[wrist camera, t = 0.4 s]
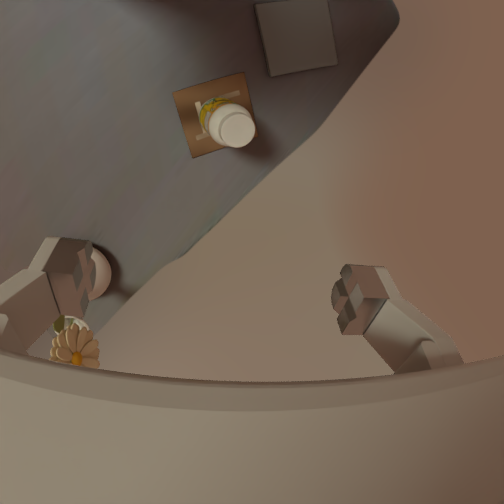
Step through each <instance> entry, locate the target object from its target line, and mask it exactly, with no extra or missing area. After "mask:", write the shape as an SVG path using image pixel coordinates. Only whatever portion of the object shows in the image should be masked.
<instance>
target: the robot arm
mask: <svg viewBox="0 0 504 504" xmlns="http://www.w3.org/2000/svg"><path fill="white" fill-rule="evenodd" d="M92 253H93V247H92V242H91V241H89V240H81V239H73V238H65V237H62V238H61V237H54V236H48V237H46V238H45V240H44V242H43V243H42V245H41V247H40V248H39V250H38V252H37V253H36V255H35V257H34V259H33V260H32V262H31V264H30V266H29V268H28V269H27V270H26V269H23V270H22V271H20V272H19V273H17V274H16V275H14V276H13V277H11V278H10V279H8V280H7V281H5V282H4V283H2V284H1V285H0V504H504V355H502V356H498V357H494V358H490V359H485V360H480V361H475V362H470V363H465V364H464V362H463V360H462V358H461V356H460V353H459V351H458V349H457V347H456V345H455V343H454V341H453V339H452V338H451V337H450V336H449V335H448V334H447V333H446V332H444V331H443V330H442V329H441V328H440V327H438V326H437V325H436V324H435V323H434V322H433V321H431V320H430V319H429V318H428V317H427V316H425V315H424V314H423V313H422V312H421V311H419V310H418V309H417V308H416V307H414V306H413V305H412V304H411V303H409V302H408V301H407V300H403V299H402V297H401V295H400V293H399V291H398V289H397V287H396V285H395V283H394V282H393V280H392V278H391V276H390V274H389V272H388V270H387V269H386V268H385V267H382V266H363V265H350V264H346V265H345V266H344V267H343V268H342V270H341V272H340V274H341V277H342V278H341V279H340V280H338V281H337V282H336V283H335V284H334V287H333V289H332V296H331V300H332V305H333V309H334V310H335V311H336V312H337V313H338V314H339V316H338V318H337V321H338V324H339V328H340V331H341V333H342V335H363V337H364V338H365V339H366V340H367V341H368V342H369V343H370V345H371V346H372V347H373V348H374V349H375V350H376V351H377V353H378V354H379V355H380V356H381V357H382V358H383V359H384V361H385V362H386V363H387V364H388V365H389V366H390V367H391V369H392V370H393V371H394V372H395V373H394V374H393V375H385V376H376V377H365V378H352V379H338V380H321V381H295V382H294V381H292V382H241V381H240V382H239V381H213V380H195V379H181V378H169V377H158V376H148V375H140V374H131V373H123V372H116V371H109V370H102V369H96V368H89V367H83V366H78V365H72V364H67V363H62V362H56V361H52V360H46V359H42V358H37V357H33V356H29V355H28V353H27V352H26V350H27V349H28V348H29V347H30V346H31V345H32V344H33V343H34V342H35V341H36V340H37V339H38V338H39V337H40V335H42V334H43V333H44V332H45V331H46V330H47V329H48V328H49V327H50V326H51V325H52V324H53V323H54V322H55V321H56V320H57V319H58V318H59V317H60V315H68V316H76V317H84V316H85V312H86V309H87V306H88V303H89V299H88V294H89V293H90V292H92V291H93V288H94V285H95V279H96V265H95V261H94V260H93V259H92V258H91V255H92Z"/></svg>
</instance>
